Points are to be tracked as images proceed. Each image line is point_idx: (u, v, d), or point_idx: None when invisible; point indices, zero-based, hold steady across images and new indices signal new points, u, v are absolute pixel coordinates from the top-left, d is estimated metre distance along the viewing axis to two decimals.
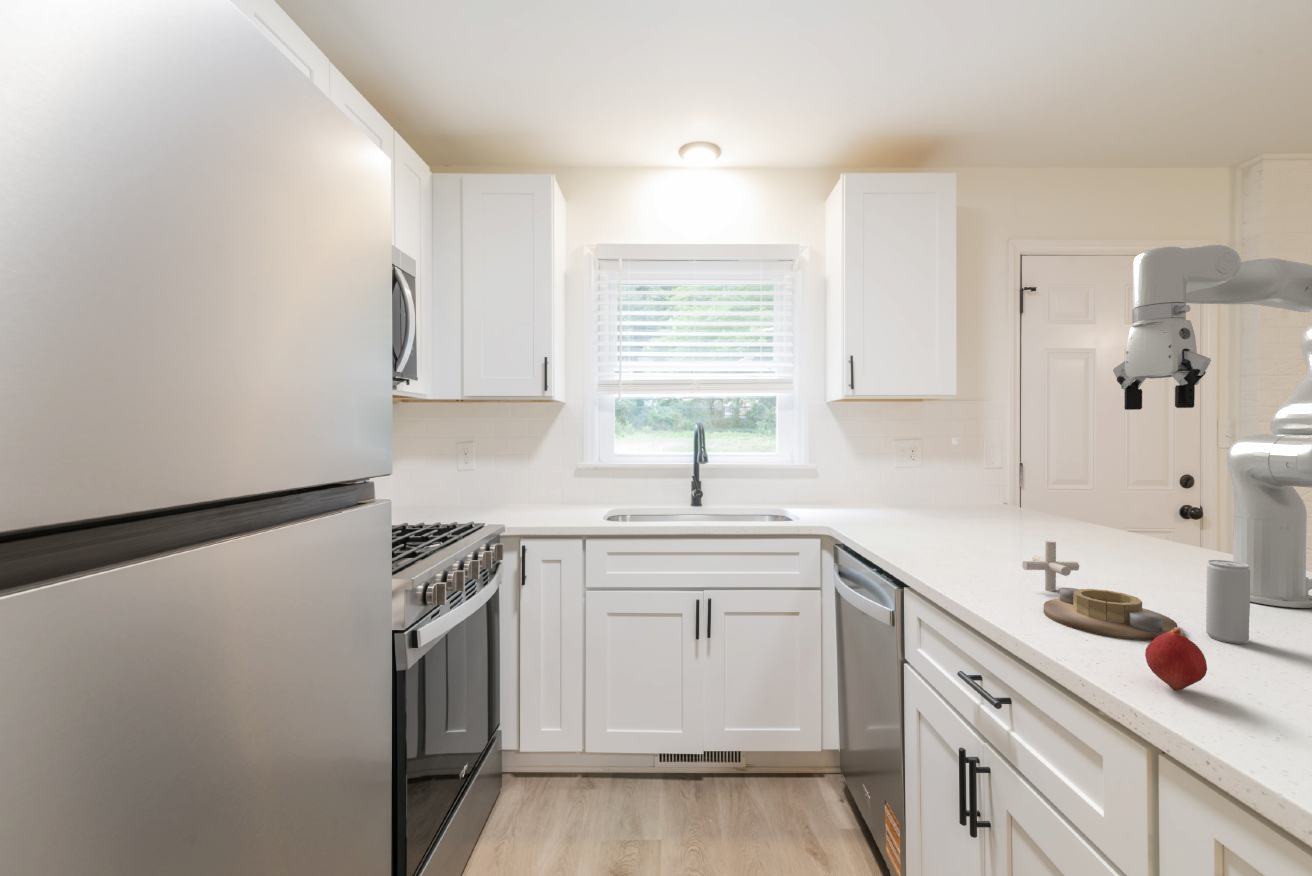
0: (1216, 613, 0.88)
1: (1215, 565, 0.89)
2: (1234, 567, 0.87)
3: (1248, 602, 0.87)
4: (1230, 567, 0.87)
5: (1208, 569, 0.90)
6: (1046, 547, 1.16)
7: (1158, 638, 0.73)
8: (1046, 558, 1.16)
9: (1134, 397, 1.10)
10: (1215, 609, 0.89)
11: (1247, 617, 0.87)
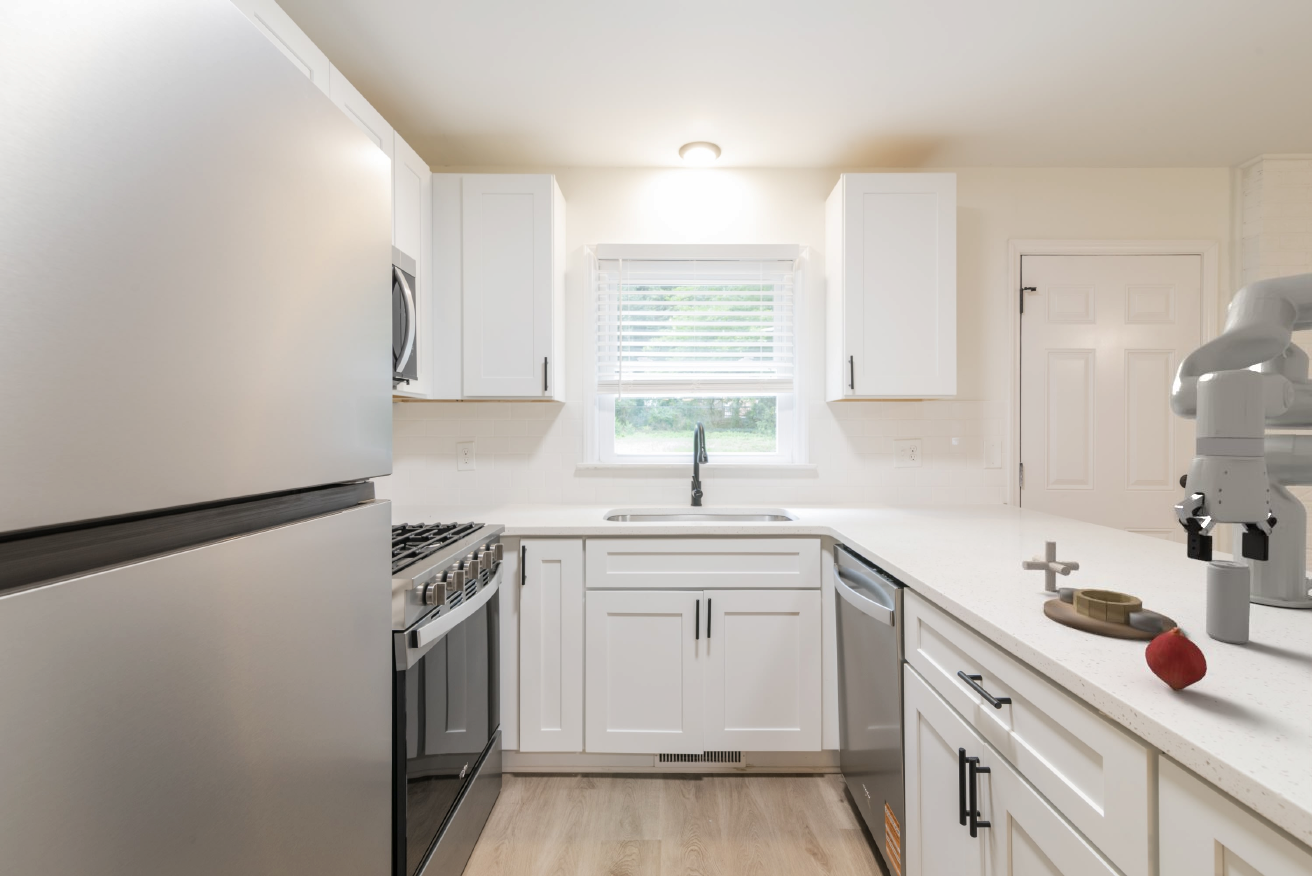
0: (1216, 613, 0.88)
1: (1215, 565, 0.89)
2: (1234, 567, 0.87)
3: (1248, 602, 0.87)
4: (1230, 567, 0.87)
5: (1208, 569, 0.90)
6: (1046, 547, 1.16)
7: (1158, 638, 0.73)
8: (1046, 558, 1.16)
9: None
10: (1215, 609, 0.89)
11: (1247, 617, 0.87)
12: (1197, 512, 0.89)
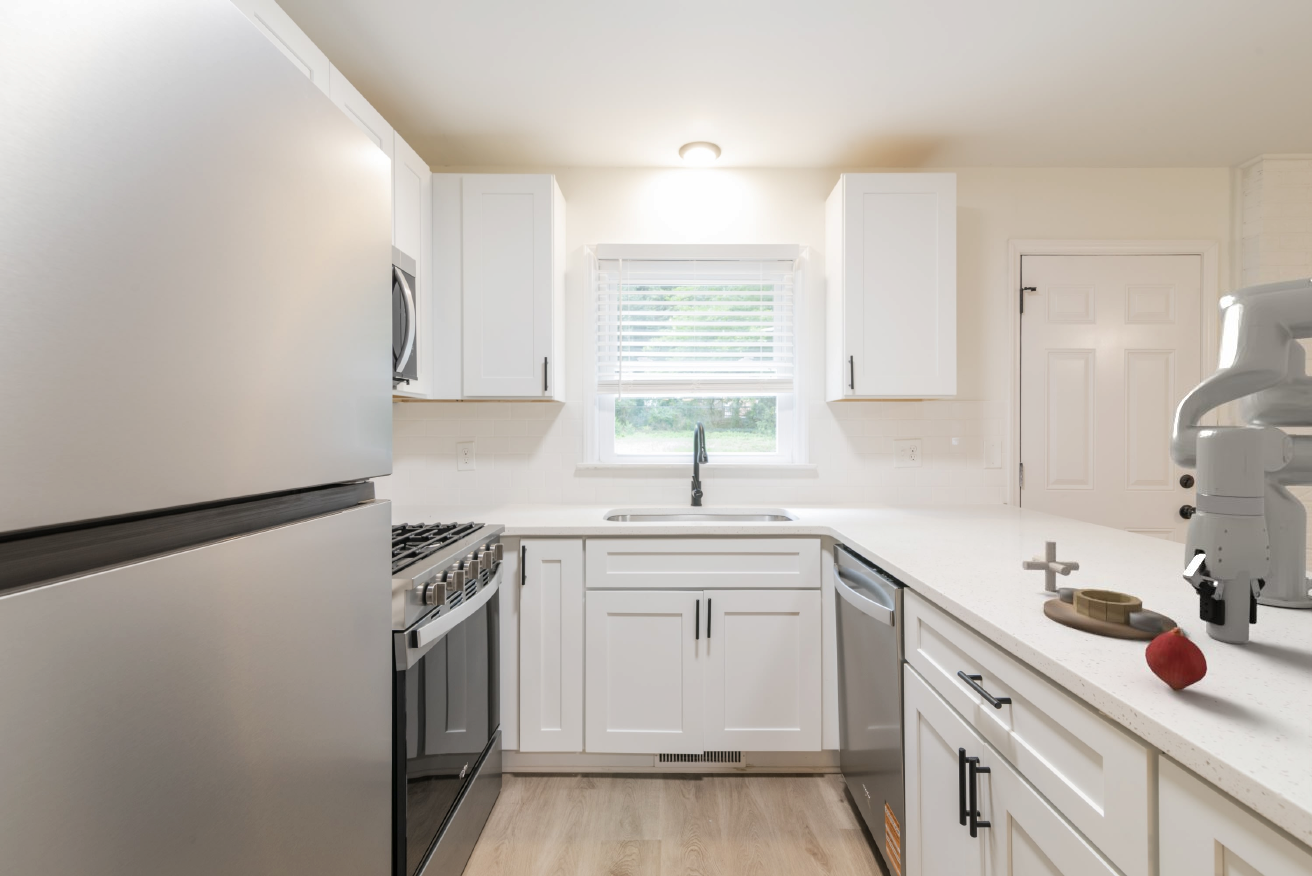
0: None
1: None
2: None
3: (1248, 602, 0.87)
4: None
5: None
6: (1046, 547, 1.16)
7: (1158, 638, 0.73)
8: (1046, 558, 1.16)
9: None
10: None
11: (1247, 617, 0.87)
12: None
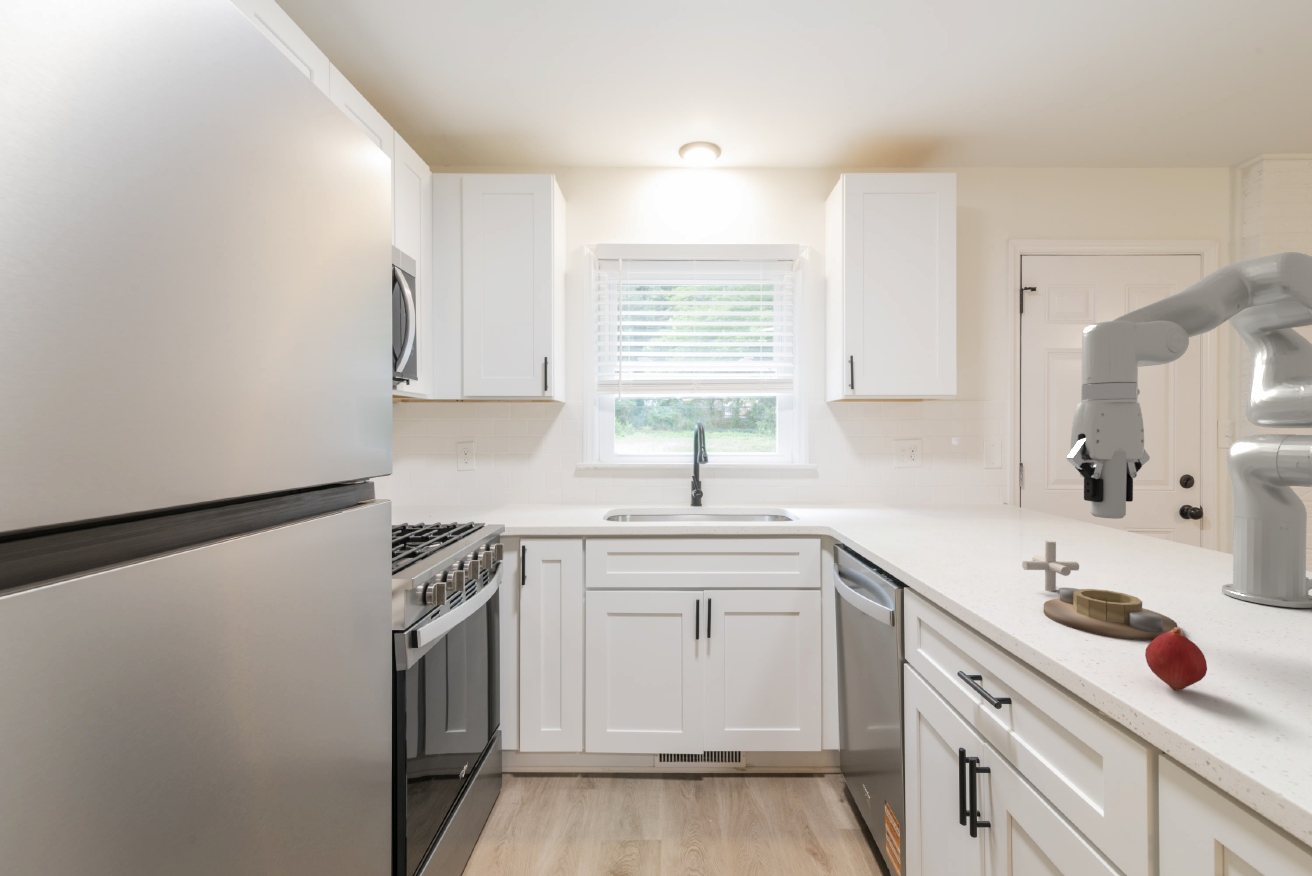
0: None
1: None
2: None
3: (1124, 480, 0.95)
4: None
5: None
6: (1046, 547, 1.16)
7: (1158, 638, 0.73)
8: (1046, 558, 1.16)
9: None
10: None
11: (1123, 493, 0.95)
12: None
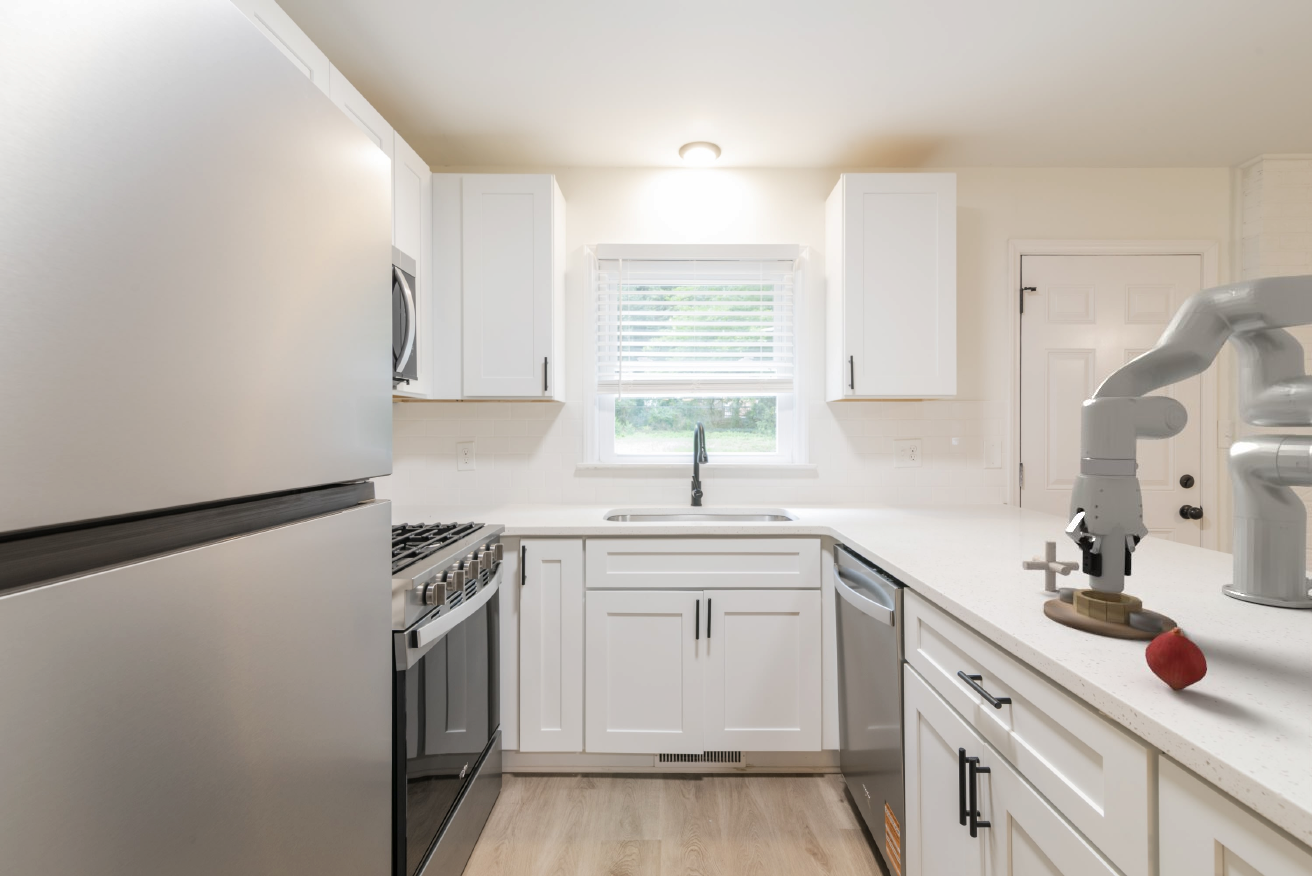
0: None
1: None
2: None
3: (1122, 555, 0.95)
4: None
5: None
6: (1046, 547, 1.16)
7: (1158, 638, 0.73)
8: (1046, 558, 1.16)
9: None
10: None
11: (1121, 569, 0.95)
12: None
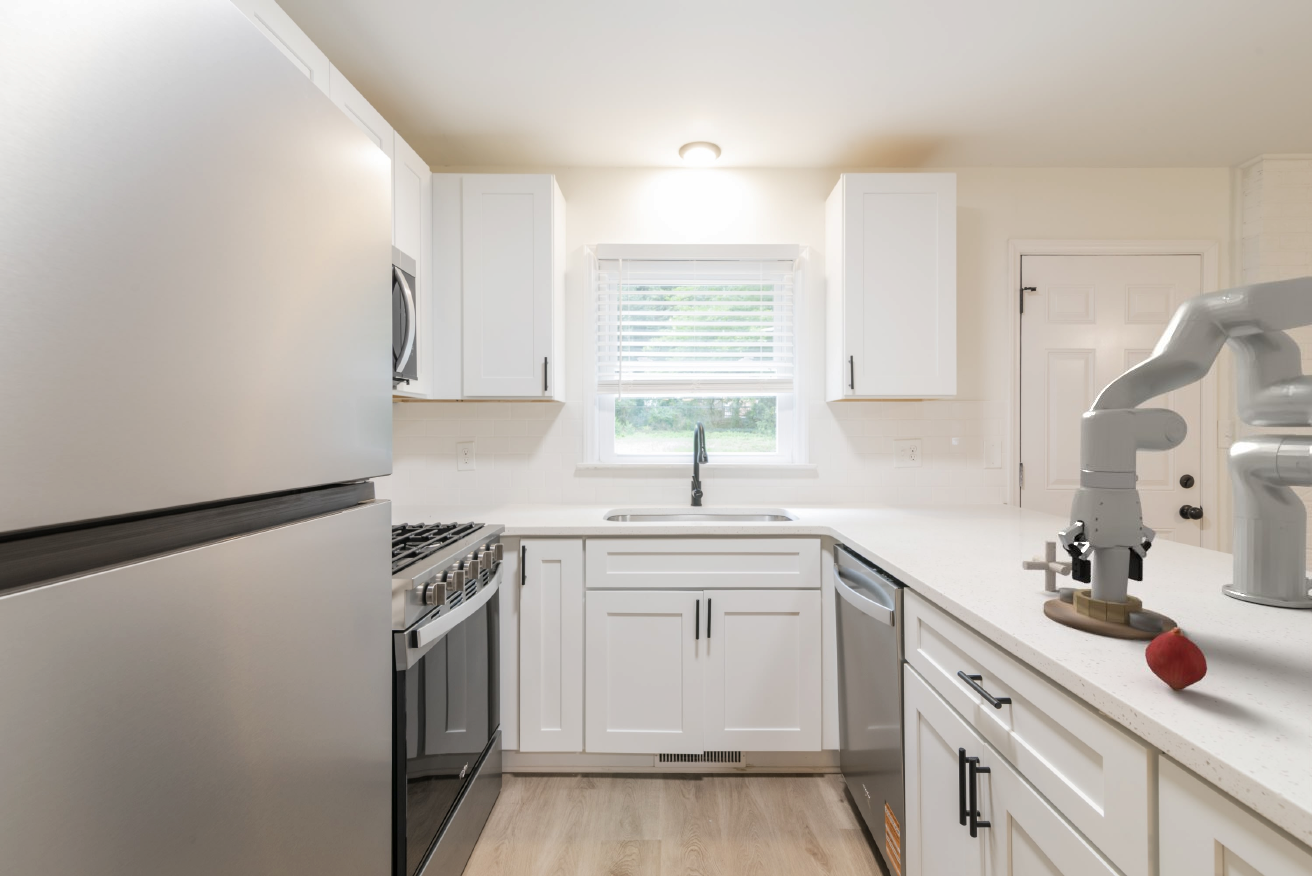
0: (1098, 588, 0.97)
1: None
2: (1115, 547, 0.95)
3: (1126, 579, 0.95)
4: (1112, 547, 0.96)
5: (1094, 549, 0.98)
6: (1046, 547, 1.16)
7: (1158, 638, 0.73)
8: (1046, 558, 1.16)
9: None
10: (1098, 585, 0.97)
11: (1124, 593, 0.95)
12: (1080, 538, 0.98)
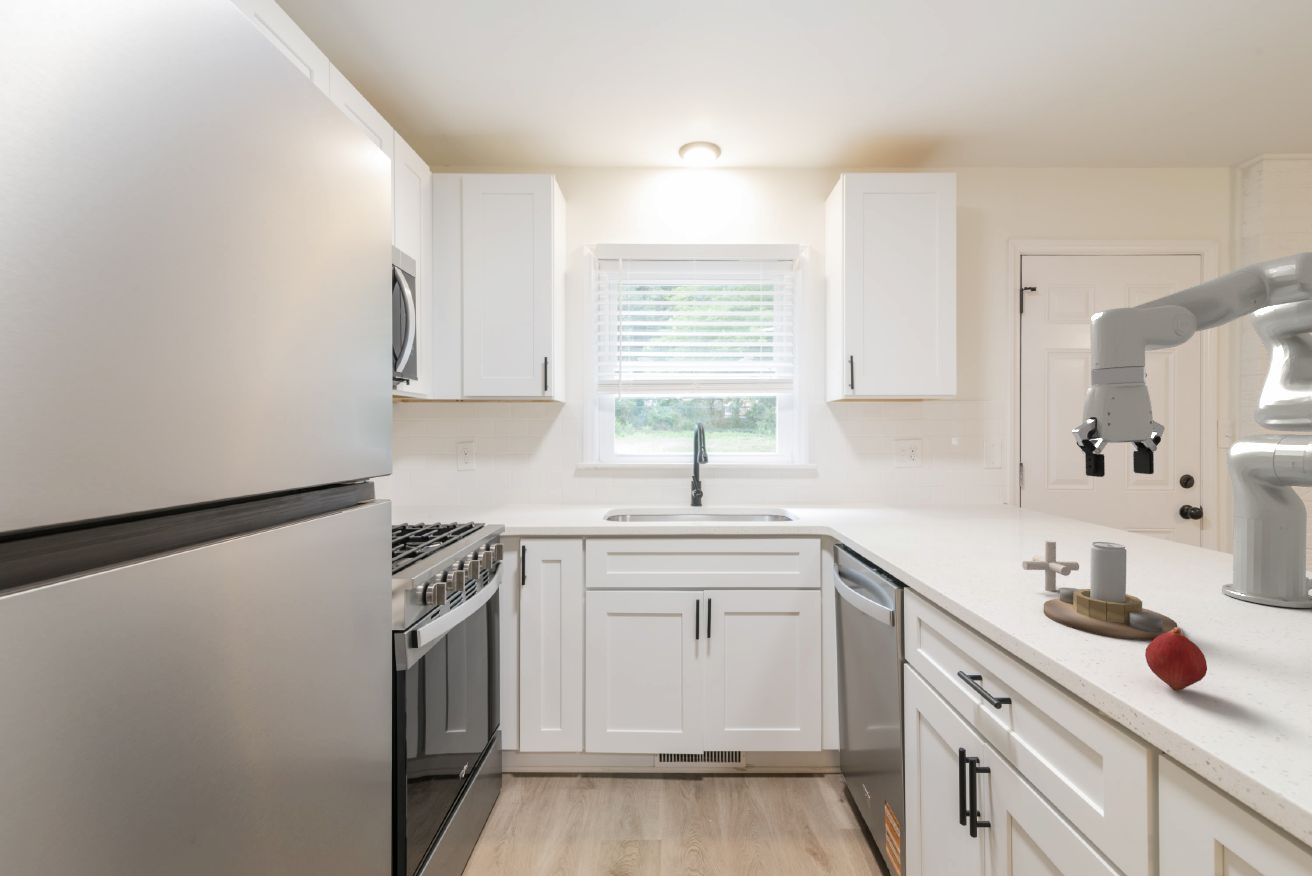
0: (1097, 590, 0.97)
1: (1096, 546, 0.97)
2: (1112, 548, 0.95)
3: (1124, 579, 0.95)
4: (1108, 548, 0.96)
5: (1091, 550, 0.98)
6: (1046, 547, 1.16)
7: (1158, 638, 0.73)
8: (1046, 558, 1.16)
9: None
10: (1096, 586, 0.97)
11: (1123, 593, 0.95)
12: (1093, 435, 1.02)
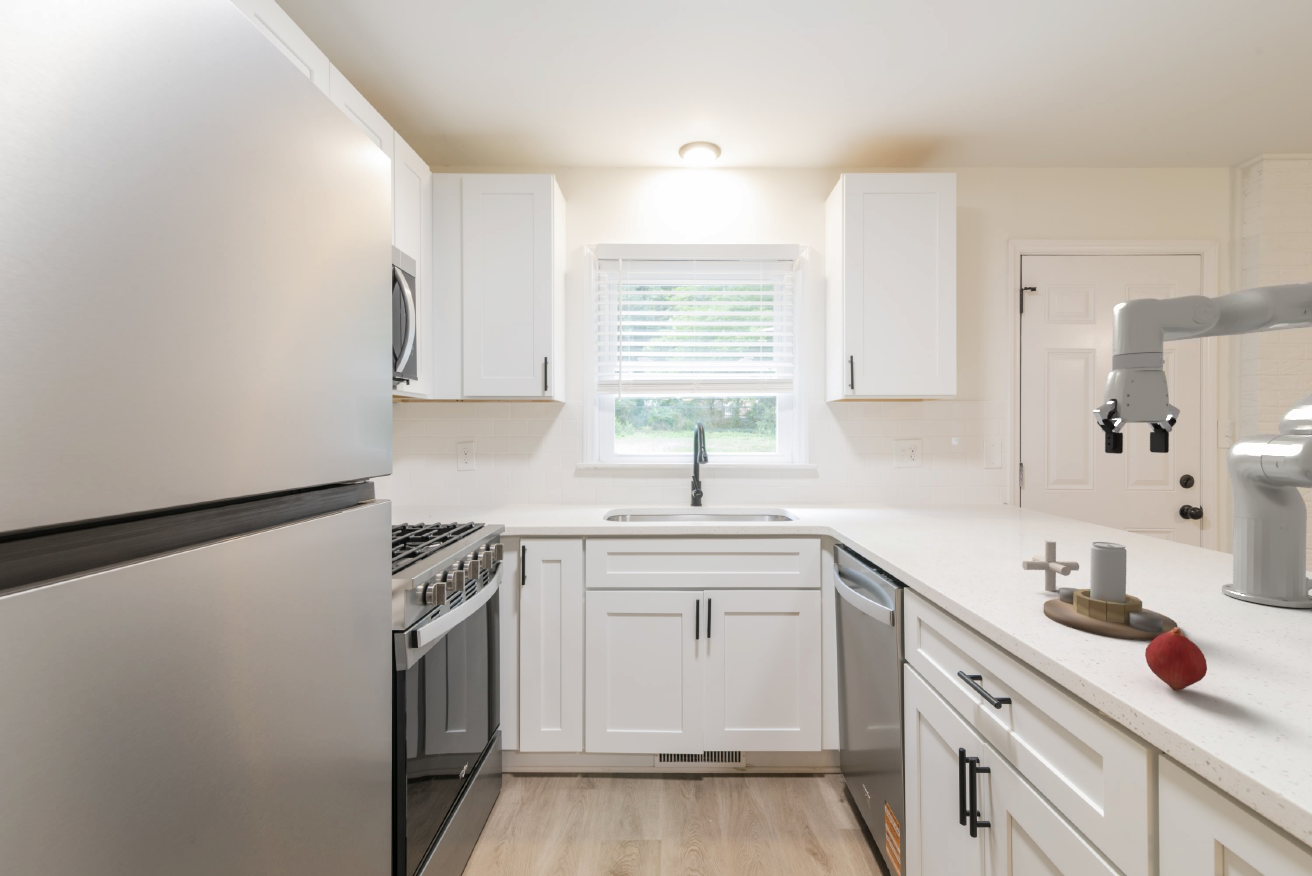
0: (1097, 589, 0.97)
1: (1096, 546, 0.97)
2: (1112, 548, 0.95)
3: (1124, 579, 0.95)
4: (1108, 548, 0.96)
5: (1091, 550, 0.98)
6: (1046, 547, 1.16)
7: (1158, 638, 0.73)
8: (1046, 558, 1.16)
9: None
10: (1096, 586, 0.97)
11: (1123, 593, 0.95)
12: (1112, 416, 1.10)
